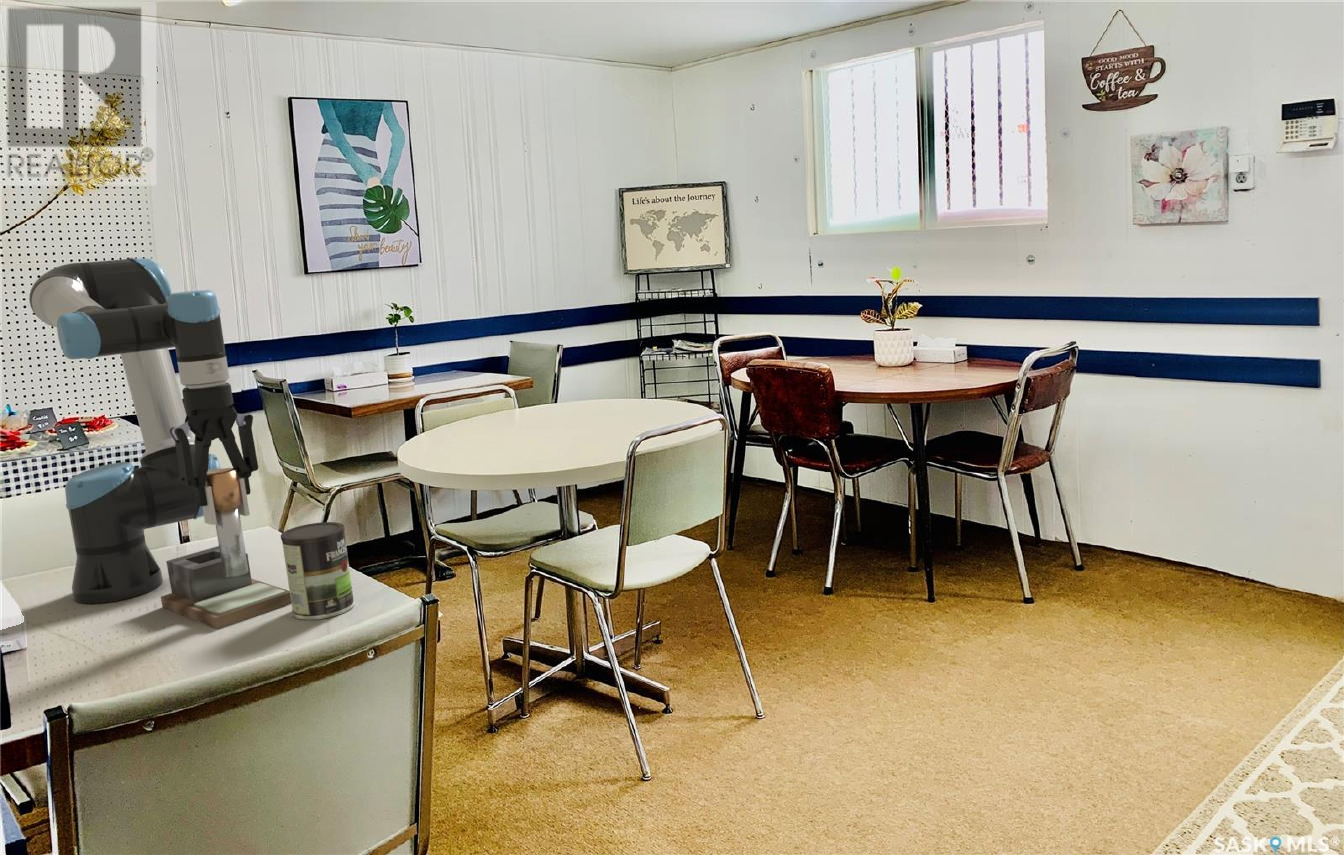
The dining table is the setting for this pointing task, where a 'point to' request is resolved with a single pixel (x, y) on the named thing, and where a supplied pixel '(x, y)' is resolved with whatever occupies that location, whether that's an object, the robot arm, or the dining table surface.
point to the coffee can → (318, 570)
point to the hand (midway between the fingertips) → (227, 518)
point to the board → (227, 617)
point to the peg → (228, 520)
